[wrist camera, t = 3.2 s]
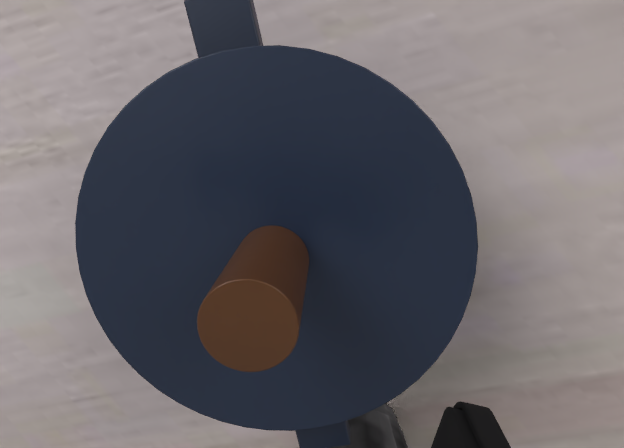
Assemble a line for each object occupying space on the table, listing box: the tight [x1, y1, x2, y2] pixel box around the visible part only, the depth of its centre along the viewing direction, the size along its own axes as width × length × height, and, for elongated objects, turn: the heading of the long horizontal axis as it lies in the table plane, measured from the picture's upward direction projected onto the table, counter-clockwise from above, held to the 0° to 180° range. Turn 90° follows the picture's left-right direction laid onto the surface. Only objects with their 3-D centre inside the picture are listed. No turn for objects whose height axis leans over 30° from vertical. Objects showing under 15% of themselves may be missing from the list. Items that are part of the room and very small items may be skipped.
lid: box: [75, 45, 478, 431], centre depth 16 cm, size 16×16×7 cm
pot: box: [184, 0, 351, 448], centre depth 23 cm, size 15×20×10 cm
